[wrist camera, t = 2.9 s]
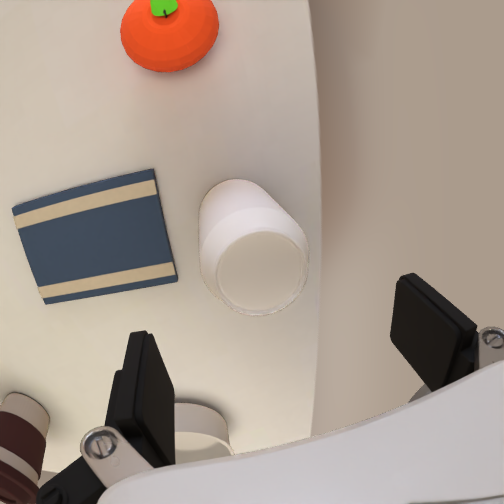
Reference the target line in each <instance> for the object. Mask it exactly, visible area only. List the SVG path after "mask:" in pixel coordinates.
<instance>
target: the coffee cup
mask: <svg viewBox="0 0 504 504" xmlns="http://www.w3.org/2000/svg"><path fill="white" fill-rule="evenodd" d="M49 422H50V420H49V416H48V414H47V412H46V411H45V410H44V408H43V407H42V406H41V405H40V404H38V403H37V402H36V401H34V400H33V399H31V398H29V397H27V396H25V395H22V394H19V393H12V394H9V395H7V396H6V398H5V400H4V401H3V403H2V405H1V406H0V501H2V502H4V503H6V504H36V496H37V492H38V491H39V488H38V486H37V483H38V480H39V479H40V475H41V470H42V464H43V458H44V453H45V448H46V436H47V432H48V427H49Z"/></svg>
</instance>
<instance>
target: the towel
mask: <svg viewBox="0 0 504 504" xmlns="http://www.w3.org/2000/svg"><path fill="white" fill-rule="evenodd" d="M12 212H13V215H14V217H13V218H14V221H15V225H16V228H17V229H18V232H19V235H20V238H21V241H22V244H23V247H24V250H25V253H26V256H27V259H28V262H29V265H30V267H31V270H32V273H33V275H34V278H35V281H36V283H37V286H38V290H39V292H40V295H41V297H42V298H43V300H44V302H45V305H46V304H53V303H59V302H65V301H71V300H77V299H82V298H88V297H94V296H100V295H106V294H112V293H117V292H123V291H129V290H135V289H140V288H146V287H152V286H157V285H163V284H168V283H174V282H177V281H178V276H177V272H176V268H175V264H174V260H173V256H172V252H171V248H170V244H169V239H168V235H167V231H166V226H165V222H164V217H163V212H162V208H161V203H160V198H159V193H158V189H157V184H156V179H155V173H154V169H149V170H144V171H140V172H135V173H131V174H127V175H122V176H118V177H114V178H110V179H106V180H102V181H98V182H94V183H91V184H87V185H83V186H79V187H76V188H72V189H69V190H65V191H62V192H58V193H55V194H52V195H48V196H45V197H42V198H38V199H35V200H32V201H29V202H26V203H23V204H20V205H17V206H14V207H13V208H12Z"/></svg>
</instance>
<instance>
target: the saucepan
mask: <svg viewBox="0 0 504 504" xmlns="http://www.w3.org/2000/svg"><path fill="white" fill-rule="evenodd" d="M231 455H235V454H234V450H233V449H232V448H231V446H230V443H229V436H228V429H227V424H226V421H225V420H224V418H223V417H222V416H221V415H220V414H219V413H217V412H216V411H214V410H212V409H210V408H207V407H205V406H201V405H197V404H190V403H175V461H176V464H182V463H188V462H194V461H201V460H208V459H214V458H220V457H226V456H231Z"/></svg>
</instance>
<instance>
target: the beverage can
mask: <svg viewBox="0 0 504 504" xmlns="http://www.w3.org/2000/svg"><path fill="white" fill-rule="evenodd" d="M199 254H200V269H201V274H202V277H203V280H204V282H205V284H206V286H207V287H208V289H209V290H210V291H211V292H212V294H213V295H214V296H216V297H217V298H218V299H219V300H221V301H222V302H224V303H225V304H226V305H227V306H228V307H230V308H231V309H232V310H234V311H236V312H238V313H241V314H244V315H249V316H264V315H269V314H273V313H275V312H278V311H280V310H282V309H284V308H285V307H287V306H288V305H290V304H291V303H292V302H293V301H294V300H295V299H296V298H297V297H298V296H299V294H300V293H301V291H302V289H303V287H304V285H305V283H306V279H307V275H308V263H309V246H308V242H307V239H306V236H305V234H304V232H303V231H302V229H301V228H300V226H299V225H298V224H297V223H296V222H295V221H294V220H293V218H292V217H291V216H290V215H289V214H288V213H287V212H286V211H285V210H284V209H283V208H282V207H281V206H280V205H279V204H278V203H277V202H276V201H275V200H274V199H273V198H272V197H271V196H270V195H269V194H268V193H267V192H266V191H264V190H263V189H262V188H261V187H260V186H258V185H257V184H255V183H253V182H251V181H247V180H243V179H232V180H227V181H224V182H221V183H219V184H217V185H216V186H214V187H213V188H212V189H211V190H210V191H209V192H208V193H207V194H206V196H205V197H204V199H203V201H202V203H201V206H200V210H199Z"/></svg>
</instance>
